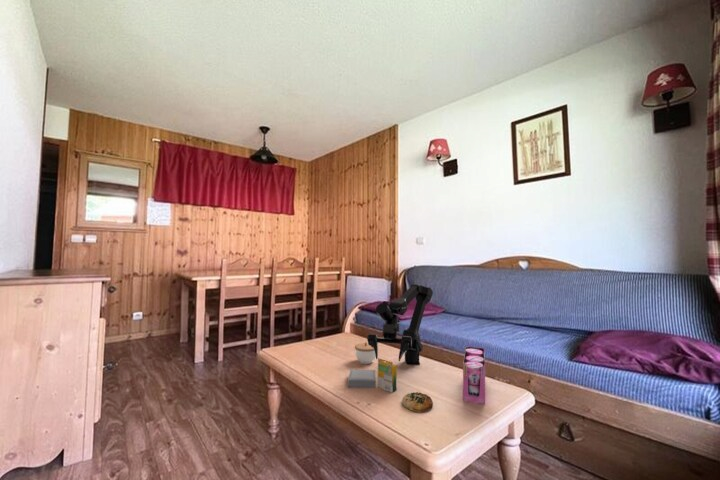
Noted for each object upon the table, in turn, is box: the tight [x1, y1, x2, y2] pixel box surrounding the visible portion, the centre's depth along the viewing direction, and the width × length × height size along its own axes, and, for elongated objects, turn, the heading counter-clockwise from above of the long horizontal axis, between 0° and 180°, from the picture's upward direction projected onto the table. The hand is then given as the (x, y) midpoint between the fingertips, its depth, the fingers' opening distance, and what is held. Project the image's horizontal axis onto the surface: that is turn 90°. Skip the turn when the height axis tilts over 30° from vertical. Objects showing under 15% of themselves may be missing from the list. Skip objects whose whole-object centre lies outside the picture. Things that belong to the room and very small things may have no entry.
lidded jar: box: [354, 341, 376, 365], centre depth 152 cm, size 11×11×9 cm
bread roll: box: [401, 391, 434, 413], centre depth 109 cm, size 11×11×5 cm
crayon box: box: [377, 357, 397, 394], centre depth 122 cm, size 7×3×12 cm, turn 48°
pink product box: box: [462, 346, 486, 405], centre depth 121 cm, size 24×8×14 cm, turn 158°
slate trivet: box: [347, 369, 377, 389], centre depth 128 cm, size 11×11×3 cm
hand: (387, 359), depth 125 cm, fingers open, 9 cm apart
